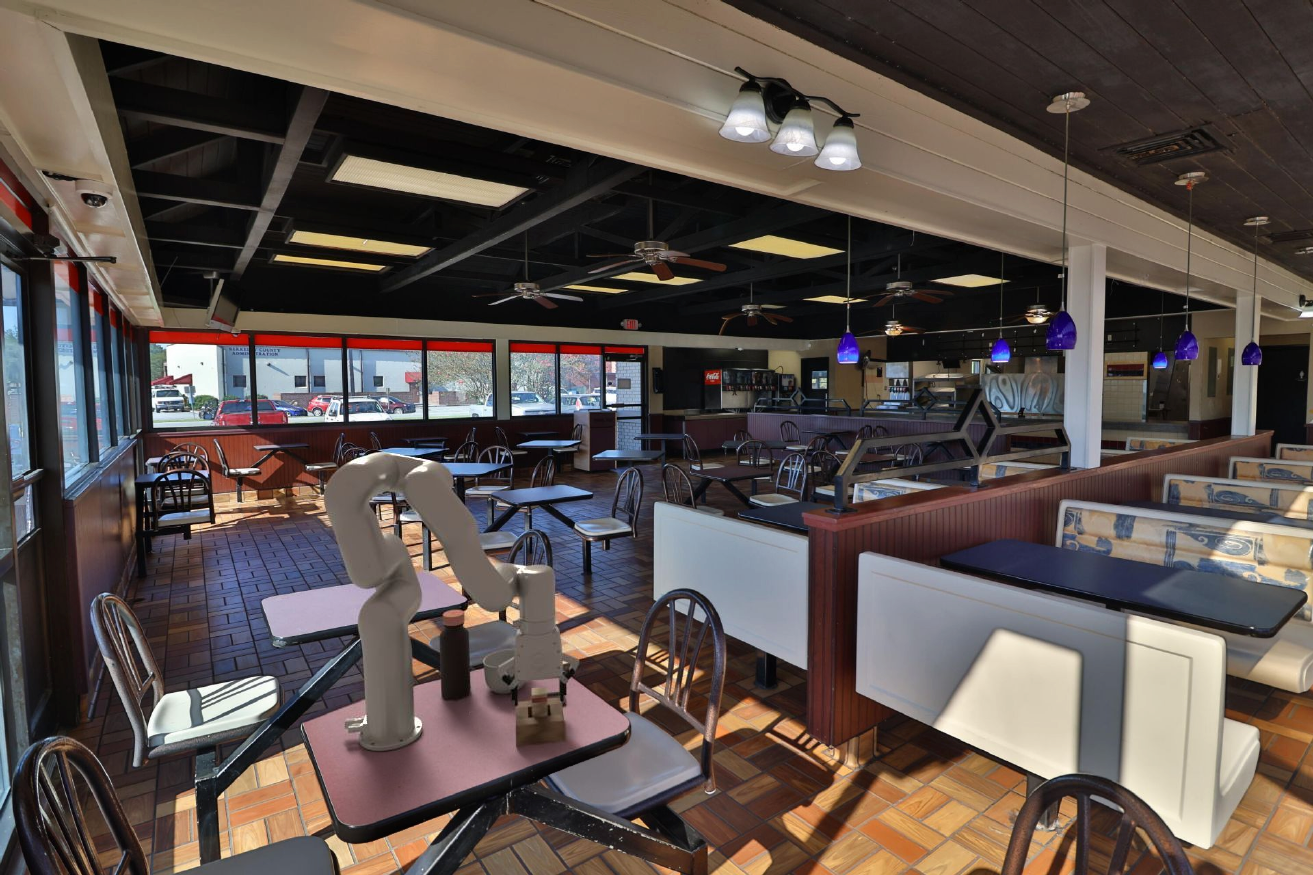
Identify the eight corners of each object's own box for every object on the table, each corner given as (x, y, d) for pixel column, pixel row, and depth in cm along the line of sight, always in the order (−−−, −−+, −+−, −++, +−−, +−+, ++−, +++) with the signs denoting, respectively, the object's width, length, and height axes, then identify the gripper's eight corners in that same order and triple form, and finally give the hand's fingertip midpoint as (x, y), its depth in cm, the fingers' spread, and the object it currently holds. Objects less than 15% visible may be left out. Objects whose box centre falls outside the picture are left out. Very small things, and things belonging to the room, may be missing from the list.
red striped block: (532, 735, 141) (531, 695, 140) (532, 727, 144) (531, 688, 143) (547, 733, 141) (547, 693, 140) (547, 725, 144) (546, 686, 143)
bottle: (454, 703, 154) (452, 620, 152) (435, 695, 158) (432, 614, 156) (476, 691, 160) (474, 611, 158) (457, 684, 163) (455, 606, 161)
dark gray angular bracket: (529, 709, 151) (529, 706, 151) (528, 697, 157) (528, 694, 157) (565, 705, 153) (565, 702, 153) (563, 693, 159) (563, 690, 159)
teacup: (503, 703, 154) (502, 670, 153) (474, 689, 161) (473, 658, 160) (547, 681, 165) (546, 650, 164) (518, 669, 172) (517, 639, 171)
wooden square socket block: (516, 746, 136) (515, 725, 136) (515, 721, 146) (515, 702, 146) (564, 740, 139) (564, 720, 138) (561, 716, 148) (561, 697, 148)
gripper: (495, 634, 134) (497, 714, 136) (580, 627, 138) (581, 705, 140) (496, 620, 142) (498, 696, 144) (576, 614, 145) (577, 688, 147)
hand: (539, 700), depth 142 cm, fingers open, 9 cm apart
